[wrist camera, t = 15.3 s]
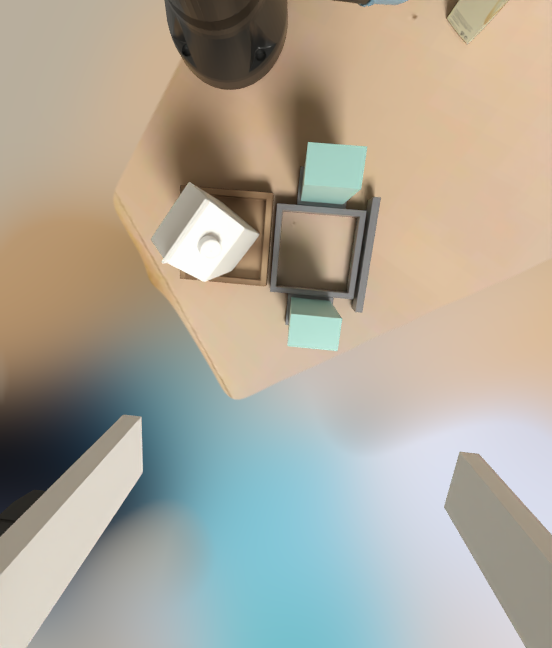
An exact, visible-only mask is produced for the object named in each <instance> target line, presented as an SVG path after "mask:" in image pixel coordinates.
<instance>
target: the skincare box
mask: <svg viewBox="0 0 552 648" xmlns="http://www.w3.org/2000/svg"><path fill="white" fill-rule="evenodd" d="M508 1H509V0H459V1H458V2H457V4H456V5H455V7H454V8H453V10H452V11H451V13H450V14H449V16H448V17H447V20H448V21H449V22H450V24H451V25H452V26H453V28H454V29H455V30H456V32H457V33H458V34H459V36H460V37H461V38H462V39H463V40H464V41H465V42H466V44H469V43H470V42H471V41H472V40H473V39H474V38H475V37H476V36H477V35H478V34H479V33H480V32H481V31H482V30H483V29H484V28H485V27H486V25H487V24H488V23H489V22H490V21H491V20H492V19H493V18H494V17H495V16H496V14H497V13H498V12H499V11H500V10H501V9H502V8H503V6H504V5H505V4H506V3H507V2H508Z"/></svg>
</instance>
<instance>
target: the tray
mask: <svg viewBox="0 0 552 648" xmlns="http://www.w3.org/2000/svg"><path fill="white" fill-rule="evenodd" d="M185 187H186V186H182V185H180V194H181V193H182V191H183V190H184V188H185ZM199 188H200V189H202V190H203V191H205V192H207V193H208V194H210V195H211V196H213V197H215V198H216V199H218V200H219V201H221V202H223V203H224V204H225V205H226V206H227V207H229V208H230V209H231V210H232V211H233V212H235V213H236V214H237V215H238V216H239V217H240V218H242V219H243V220H244V221H245V222H246V223H248V224H249V225H250V226H251V227H252V228H254V229H255V230H256V231H257V232H258V233H259V234H260V235H259V236H258V238H257V239H256V240H255V242H254V243H253V244H252V246H251V247H250V248H249V250H248V251H247V252H246V254H245V255H244V256H243V257H242V259H241V260H240V261H239V263H238V264H237V265H236V267H235V268H234V269H233V270H232V271H230V272H228V273H225V274H223V275H220V276H218V277H216V278H213V279H211V280H208V281H213V282H224V283H234V284H245V285H256V286H266V285H267V278H268V265H269V252H270V240H271V227H272V214H273V201H274V195H273V193H266V192H254V191H242V190H230V189H218V188H206V187H199ZM180 279H191V280H199V279H197V278H195V277H193V276H192V275H190V274H188V273H186V272H184V271H182V270H180Z"/></svg>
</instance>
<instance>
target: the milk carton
mask: <svg viewBox="0 0 552 648" xmlns="http://www.w3.org/2000/svg"><path fill="white" fill-rule="evenodd" d="M259 235H260V234H259V233H258V232H257V231H256V230H255V229H254V228H252V227H251V226H250V225H249V224H248V223H246V222H245V221H244V220H243V219H242V218H240V217H239V216H238V215H237V214H236V213H235V212H233V211H232V210H231V209H230V208H229V207H227V206H226V205H225V204H224V203H223V202H221V201H219V200H218V199H216V198H215V197H213V196H211V195H210V194H208V193H207V192H205V191H203V190H202V189H200V188H199V187H197V186H195V185H194V184H192V183H191V182H189V183H188V184H187V185H186V187H185V188H184V190H183V191H182V193H181V194H180V196H179V197H178V199H177V200H176V202H175V203H174V205H173V206H172V208H171V209H170V211H169V212H168V214H167V215H166V217H165V218H164V220H163V221H162V223H161V224H160V226H159V227H158V229H157V230H156V232H155V233H154V235H153V236H152V238H151V240H152V242H153V243H154V245H155V246H156V248H157V249H158V251H159V252H160V254H161V255H162V257H163V258H164V259H163V260H162V263H168V264H170V265H172V266H174V267H176V268H178V269H180V270H182V271H184V272H186V273H188V274H190V275H192V276H193V277H195V278H197V279H199V280H201V281H203V282H205V281H208V280H211V279H213V278H216V277H218V276H220V275H223V274H225V273H228V272H230V271H232V270H233V269H234V268H235V267H236V265H237V264H238V263H239V261H240V260H241V259H242V257H243V256H244V255H245V254H246V252H247V251H248V250H249V248H250V247H251V246H252V244H253V243H254V242H255V240H256V239H257V238H258V236H259Z"/></svg>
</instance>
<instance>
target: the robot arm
mask: <svg viewBox="0 0 552 648" xmlns="http://www.w3.org/2000/svg"><path fill="white" fill-rule="evenodd" d="M334 1H342V2H350V3H357V4H359V5H360V6H363V7H365V6H371V5H373V4H385V5H398V4H401V3H404V2H406V1H408V0H334ZM165 7H166V15H167V22H168V26H169V30H170V33H171V36H172V39H173V41H174V44H175V46H176V48H177V50H178V52H179V53H180V55H181V57H182V58H183V60H184V62H185V63H186V65H187V66H188V67H189V69H190V70H191V71H192V72H193V73H194V74H195V75H196V76H197V77H198V78H199V79H201V80H202V81H204V82H205V83H207V84H209V85H211V86H214V87H217V88H221V89H230V90H232V89H240V88H244V87H247V86H249V85H252V84H254V83H255V82H257V81H258V80H260V79H261V78H262V77H264V76H265V75H266V74H267V73H268V72H269V71H270V69H271V68H272V67H273V65H274V64H275V62H276V61H277V59H278V57H279V55H280V53H281V51H282V48H283V45H284V42H285V38H286V33H287V24H288V11H287V0H165ZM142 472H143V462H142V425H141V417H139V416H130V415H123V416H122V417H121V418H120V419H119V420H118V421H117V422H116V423H115V424H114V425H113V426H112V427H110V428H109V430H108V431H106V433H104V434H103V435H102V437H100V438H99V440H98V441H96V442H95V443H94V444H93V445H92V446H91V447H90V448H89V449H88V450H87V451H86V452H85V454H83V455H82V456H81V457H80V458H79V459H78V460H77V461H76V462H75V463H74V464H73V465H72V466H71V467H70V468H69V469H68V470H67V471H66V472H65V473H64V474H63V475H62V476H61V477H60V478H59V479H58V480H57V481H56V482H55V483H54V484H53V485H52V486H51V487H50V488H49V489H48V490H47V491H40V490H33V491H31V492H30V493H28V494H26V495H25V496H23V497H21V498H20V499H18V500H17V501H15V502H13V503H12V504H11V505H10V506H9V507H8V508H7V509H6V510H4V511H3V512H2V513H1V514H0V648H26V647H27V646H28V644H29V643H30V641H31V640H32V638H33V636H34V635H35V633H36V632H37V631H38V629H39V628H40V626H41V625H42V623H43V622H44V620H45V619H46V617H47V615H48V614H49V613H50V611H51V609H52V608H53V607H54V605H55V604H56V602H57V601H58V599H59V597H60V596H61V594H62V593H63V592H64V590H65V588H66V587H67V585H68V584H69V582H70V581H71V579H72V578H73V576H74V575H75V573H76V572H77V570H78V569H79V567H80V566H81V564H82V563H83V561H84V560H85V558H86V557H87V555H88V554H89V552H90V551H91V549H92V548H93V546H94V545H95V543H96V542H97V540H98V539H99V537H100V536H101V534H102V533H103V531H104V530H105V528H106V527H107V525H108V524H109V522H110V521H111V519H112V518H113V516H114V515H115V513H116V512H117V510H118V509H119V507H120V506H121V504H122V503H123V501H124V500H125V498H126V497H127V495H128V494H129V492H130V491H131V489H132V488H133V486H134V485H135V483H136V482H137V480H138V479H139V477H140V476H141V474H142ZM444 508H445V509H446V511H447V513H448V515H449V516H450V518H451V520H452V522H453V523H454V525H455V526H456V528H457V530H458V532H459V534H460V535H461V537H462V538H463V540H464V542H465V544H466V545H467V547H468V549H469V550H470V552H471V554H472V556H473V558H474V559H475V561H476V563H477V564H478V566H479V568H480V570H481V571H482V573H483V575H484V576H485V578H486V580H487V582H488V583H489V585H490V587H491V589H492V590H493V592H494V593H495V595H496V597H497V599H498V600H499V602H500V604H501V606H502V607H503V609H504V611H505V613H506V614H507V616H508V618H509V619H510V621H511V622H512V625H513V626H514V628H515V630H516V631H517V633H518V635H519V637H520V638H521V640H522V642H523V643H524V645H525V647H526V648H552V535H551V534H550V532H549V531H548V530H547V529H546V528H545V527H544V526H543V525H542V524H541V522H540V521H539V520H538V519H537V518H536V517H535V516H534V515H533V514H532V512H530V510H529V509H528V508H527V507H526V506H525V505H524V504H523V502H522V501H521V500H520V499H519V498H518V497H517V496H516V495H515V494H514V493H513V491H512V490H511V489H510V488H509V487H508V486H507V485H506V484H505V482H504V481H503V480H502V479H501V478H500V477H499V476H498V475H497V474H496V473H495V471H494V470H493V469H492V468H491V467H490V466H489V465H488V464H487V462H486V461H485V460H484V459H483V458H482V457H481V456H480V455H479V454H475V453H465V452H460V453H459V456H458V460H457V463H456V467H455V470H454V474H453V477H452V481H451V484H450V488H449V492H448V495H447V498H446V502H445V506H444Z"/></svg>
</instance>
